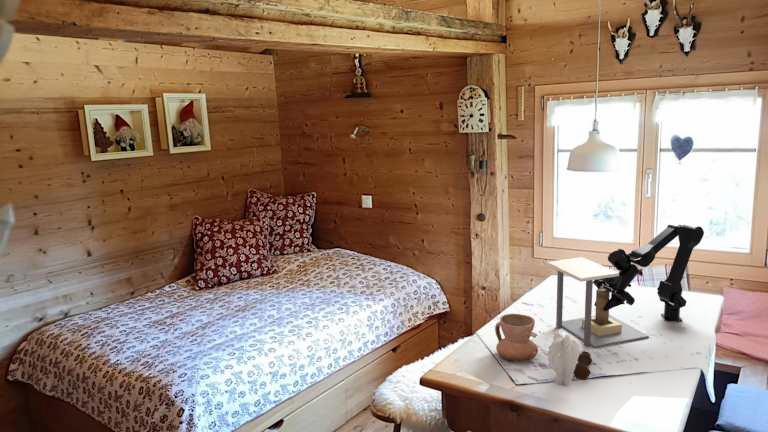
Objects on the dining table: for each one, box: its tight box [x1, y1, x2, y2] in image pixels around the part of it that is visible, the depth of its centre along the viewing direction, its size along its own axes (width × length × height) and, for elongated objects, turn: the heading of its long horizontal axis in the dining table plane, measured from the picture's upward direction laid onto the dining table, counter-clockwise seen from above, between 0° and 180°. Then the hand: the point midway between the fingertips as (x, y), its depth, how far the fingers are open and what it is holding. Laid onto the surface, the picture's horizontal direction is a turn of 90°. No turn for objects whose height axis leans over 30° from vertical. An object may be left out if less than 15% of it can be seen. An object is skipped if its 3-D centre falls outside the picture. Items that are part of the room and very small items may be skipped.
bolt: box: [573, 350, 593, 381], centre depth 196 cm, size 6×5×15 cm
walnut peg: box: [594, 288, 611, 326], centre depth 224 cm, size 5×5×14 cm
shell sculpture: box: [547, 330, 580, 386], centre depth 186 cm, size 8×8×18 cm
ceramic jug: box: [494, 313, 539, 363], centre depth 206 cm, size 18×14×14 cm
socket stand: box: [546, 256, 650, 349], centre depth 222 cm, size 30×24×27 cm
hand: (599, 308), depth 224 cm, fingers closed on walnut peg, 5 cm apart
